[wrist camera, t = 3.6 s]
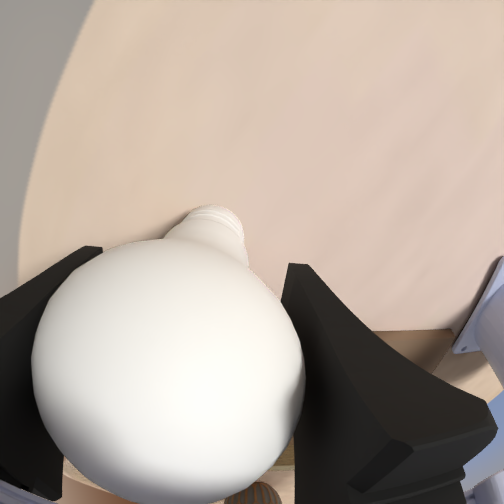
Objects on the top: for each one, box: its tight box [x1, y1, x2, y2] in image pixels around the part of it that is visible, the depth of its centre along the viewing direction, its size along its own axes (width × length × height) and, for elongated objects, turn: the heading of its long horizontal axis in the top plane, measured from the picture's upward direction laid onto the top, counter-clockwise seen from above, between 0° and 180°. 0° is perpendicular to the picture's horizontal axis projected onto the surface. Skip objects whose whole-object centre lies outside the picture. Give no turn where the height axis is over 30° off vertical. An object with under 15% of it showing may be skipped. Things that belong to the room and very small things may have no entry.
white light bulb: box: [31, 205, 306, 504], centre depth 9 cm, size 6×6×11 cm
